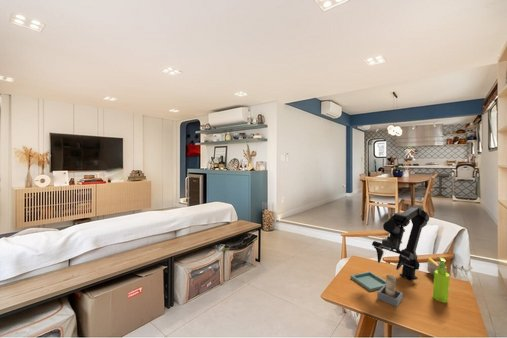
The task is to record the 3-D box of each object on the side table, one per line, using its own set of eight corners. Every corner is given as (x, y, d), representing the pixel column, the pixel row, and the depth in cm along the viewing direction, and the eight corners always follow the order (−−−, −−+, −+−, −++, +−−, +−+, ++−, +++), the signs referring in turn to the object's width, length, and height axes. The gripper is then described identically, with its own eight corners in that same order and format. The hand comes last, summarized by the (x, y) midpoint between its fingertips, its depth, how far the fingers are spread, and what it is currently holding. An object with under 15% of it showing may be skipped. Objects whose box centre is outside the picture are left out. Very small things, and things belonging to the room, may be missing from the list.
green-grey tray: (369, 274, 140) (369, 271, 140) (390, 287, 127) (390, 283, 127) (350, 279, 135) (350, 275, 135) (370, 292, 122) (370, 288, 122)
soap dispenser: (443, 295, 120) (446, 257, 119) (450, 303, 114) (452, 263, 113) (430, 293, 122) (432, 255, 121) (435, 301, 116) (438, 261, 114)
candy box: (426, 270, 146) (427, 257, 145) (430, 271, 146) (431, 257, 145) (441, 285, 130) (442, 270, 130) (445, 285, 130) (446, 270, 129)
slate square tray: (383, 293, 122) (383, 285, 122) (402, 300, 116) (403, 292, 116) (377, 300, 116) (377, 292, 116) (397, 308, 110) (397, 300, 110)
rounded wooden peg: (389, 295, 119) (390, 274, 118) (396, 300, 115) (397, 278, 114) (383, 297, 117) (384, 275, 116) (390, 302, 114) (391, 279, 113)
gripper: (371, 227, 130) (362, 256, 127) (409, 238, 114) (400, 270, 111) (380, 233, 136) (372, 260, 133) (417, 244, 120) (409, 274, 117)
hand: (387, 266), depth 123 cm, fingers open, 9 cm apart
